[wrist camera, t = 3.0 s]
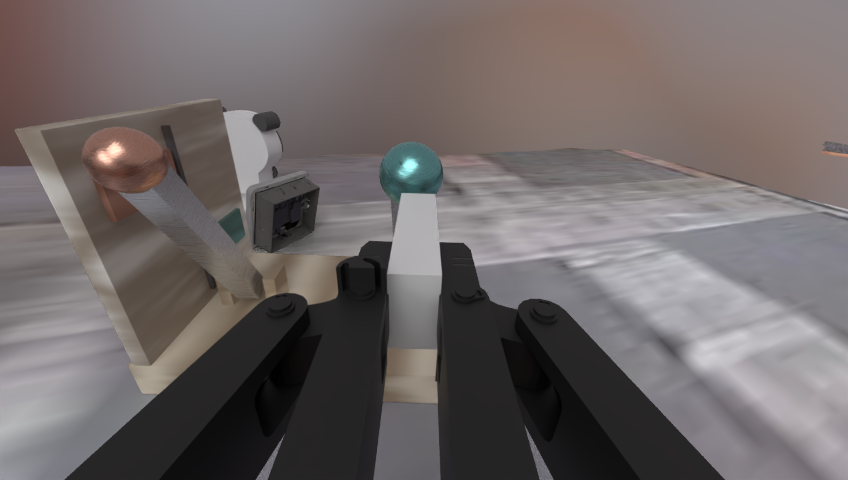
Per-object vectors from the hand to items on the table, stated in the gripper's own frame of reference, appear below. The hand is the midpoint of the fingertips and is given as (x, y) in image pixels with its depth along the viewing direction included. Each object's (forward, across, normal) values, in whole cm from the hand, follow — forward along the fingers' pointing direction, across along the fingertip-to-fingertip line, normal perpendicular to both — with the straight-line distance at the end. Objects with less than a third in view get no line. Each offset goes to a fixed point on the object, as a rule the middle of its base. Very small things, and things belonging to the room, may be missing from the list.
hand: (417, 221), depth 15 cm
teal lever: (+11, -1, -13) cm, 17 cm away
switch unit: (+11, -9, -16) cm, 21 cm away
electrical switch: (+28, -18, -16) cm, 37 cm away
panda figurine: (+42, -29, -16) cm, 53 cm away
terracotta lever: (+11, -15, -12) cm, 22 cm away
